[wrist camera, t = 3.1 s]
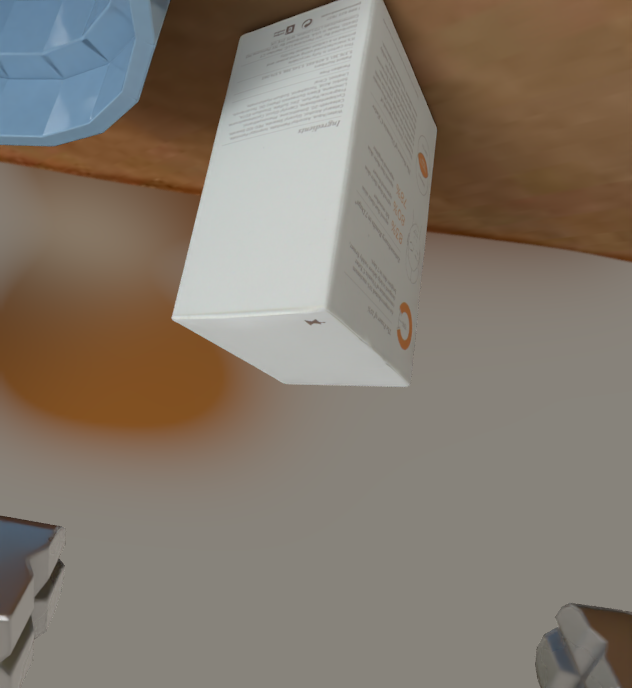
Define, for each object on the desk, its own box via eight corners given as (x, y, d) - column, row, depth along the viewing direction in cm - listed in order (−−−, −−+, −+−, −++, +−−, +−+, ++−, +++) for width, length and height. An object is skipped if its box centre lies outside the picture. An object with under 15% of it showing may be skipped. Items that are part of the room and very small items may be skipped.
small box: (237, 31, 23) (163, 319, 19) (379, -20, 20) (328, 309, 16) (323, 154, 30) (282, 387, 26) (440, 129, 27) (415, 389, 23)
